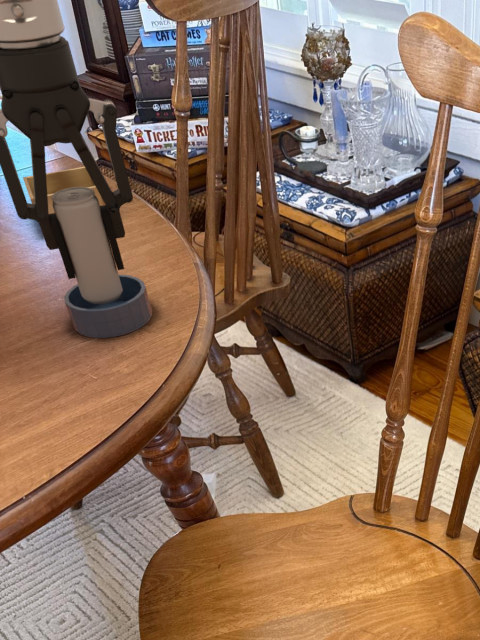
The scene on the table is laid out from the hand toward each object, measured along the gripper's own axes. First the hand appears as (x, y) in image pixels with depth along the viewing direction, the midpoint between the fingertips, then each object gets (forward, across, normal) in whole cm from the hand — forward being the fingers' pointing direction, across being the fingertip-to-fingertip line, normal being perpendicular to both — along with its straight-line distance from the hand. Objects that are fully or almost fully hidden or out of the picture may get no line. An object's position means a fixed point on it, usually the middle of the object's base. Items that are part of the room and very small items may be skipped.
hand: (95, 269), depth 91 cm
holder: (+7, -1, +35) cm, 36 cm away
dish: (+6, 0, 0) cm, 6 cm away
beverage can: (+4, 0, 0) cm, 4 cm away
